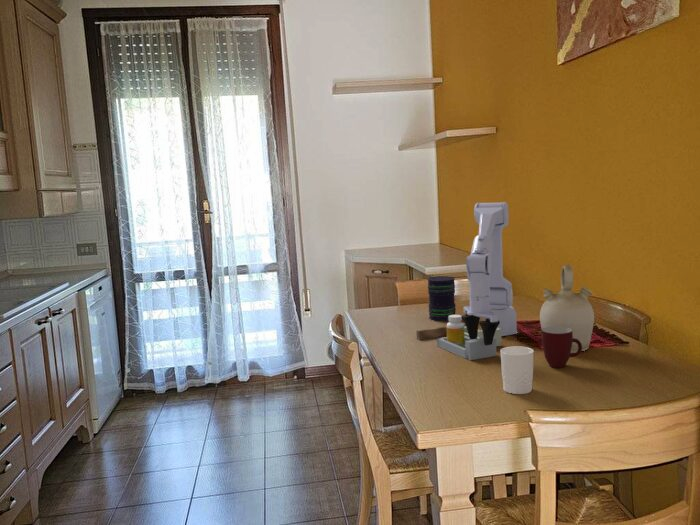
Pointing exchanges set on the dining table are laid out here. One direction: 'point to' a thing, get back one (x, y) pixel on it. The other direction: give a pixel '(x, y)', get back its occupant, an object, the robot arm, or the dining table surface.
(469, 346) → the gray rectangular open frame
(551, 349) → the mug
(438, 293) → the storage jar
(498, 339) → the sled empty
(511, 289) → the robot arm
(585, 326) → the jug
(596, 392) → the dining table surface
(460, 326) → the supplement bottle
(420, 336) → the walnut guide
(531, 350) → the white cup
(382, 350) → the dining table surface
